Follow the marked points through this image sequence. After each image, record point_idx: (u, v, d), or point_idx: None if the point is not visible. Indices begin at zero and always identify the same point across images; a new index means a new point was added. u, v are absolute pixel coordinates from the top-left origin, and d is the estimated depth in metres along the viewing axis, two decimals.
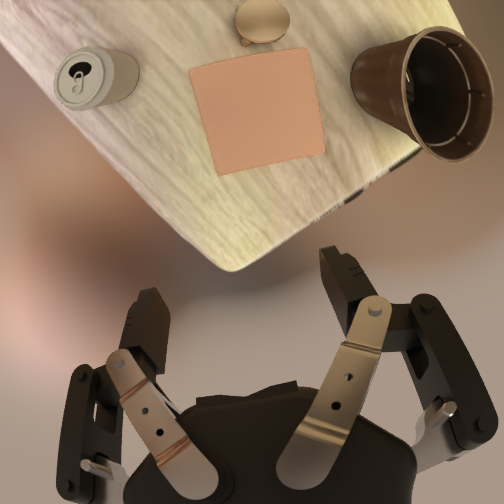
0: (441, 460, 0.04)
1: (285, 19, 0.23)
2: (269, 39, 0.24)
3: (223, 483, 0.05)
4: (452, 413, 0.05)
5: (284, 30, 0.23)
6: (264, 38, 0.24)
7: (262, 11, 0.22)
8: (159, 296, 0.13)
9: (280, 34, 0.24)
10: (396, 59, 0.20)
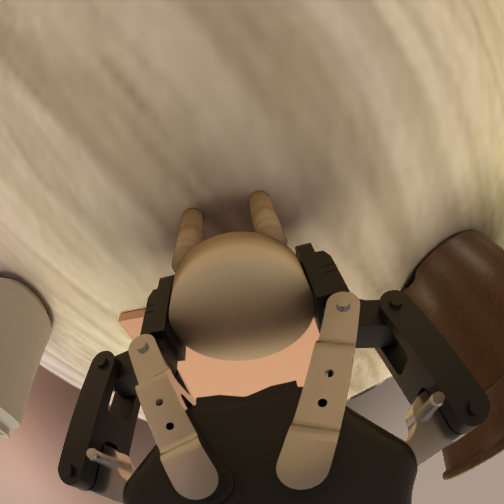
0: (439, 448, 0.05)
1: (303, 314, 0.11)
2: (258, 356, 0.13)
3: (223, 483, 0.05)
4: (441, 403, 0.05)
5: (295, 338, 0.12)
6: (247, 356, 0.13)
7: (240, 305, 0.11)
8: None
9: (285, 345, 0.12)
10: (485, 422, 0.09)
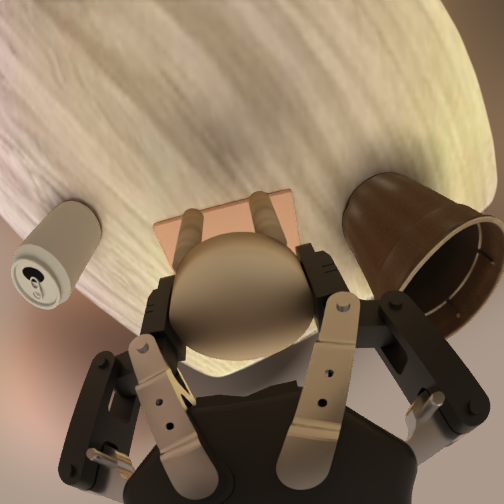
0: (439, 448, 0.05)
1: (303, 314, 0.11)
2: (259, 356, 0.13)
3: (223, 483, 0.05)
4: (441, 402, 0.05)
5: (295, 337, 0.12)
6: (247, 356, 0.13)
7: (240, 305, 0.11)
8: None
9: (285, 345, 0.13)
10: (393, 269, 0.20)
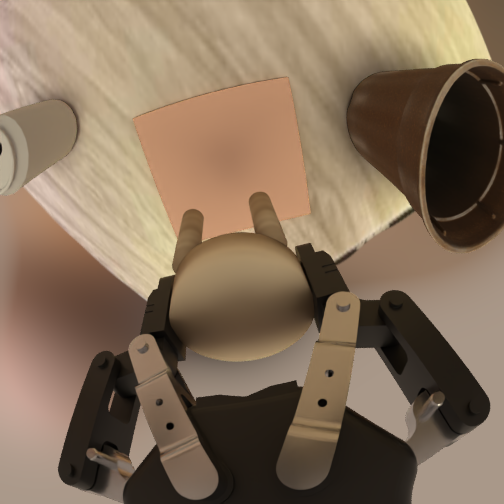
0: (439, 448, 0.05)
1: (303, 315, 0.11)
2: (259, 356, 0.13)
3: (223, 483, 0.05)
4: (441, 402, 0.05)
5: (295, 338, 0.12)
6: (247, 356, 0.13)
7: (240, 305, 0.11)
8: None
9: (285, 346, 0.12)
10: (415, 111, 0.14)
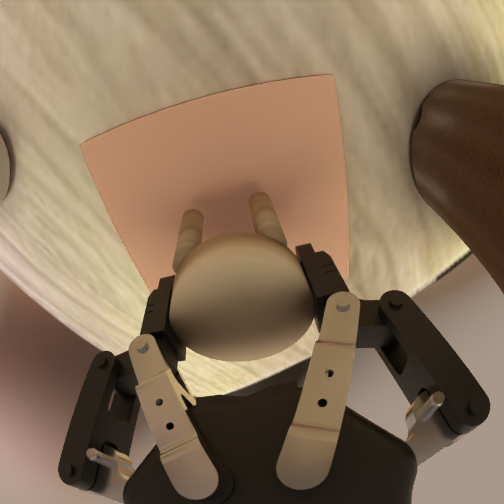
0: (439, 448, 0.05)
1: (303, 315, 0.11)
2: (259, 356, 0.13)
3: (223, 483, 0.05)
4: (441, 402, 0.05)
5: (295, 338, 0.12)
6: (247, 356, 0.13)
7: (240, 306, 0.11)
8: None
9: (285, 346, 0.12)
10: None
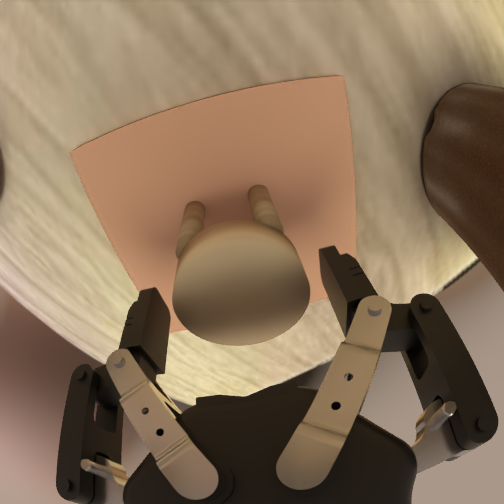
0: (441, 460, 0.04)
1: (299, 298, 0.12)
2: (257, 341, 0.14)
3: (223, 483, 0.05)
4: (452, 413, 0.05)
5: (292, 322, 0.13)
6: (246, 341, 0.13)
7: (239, 288, 0.11)
8: (159, 296, 0.13)
9: (282, 330, 0.13)
10: None
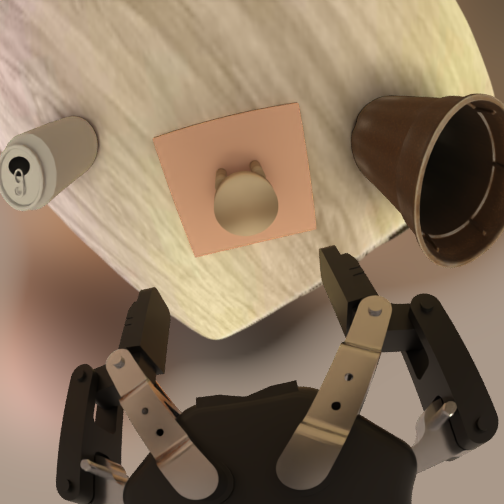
0: (441, 460, 0.04)
1: (273, 206, 0.26)
2: (253, 233, 0.27)
3: (223, 483, 0.05)
4: (452, 413, 0.05)
5: (270, 221, 0.27)
6: (247, 232, 0.27)
7: (245, 198, 0.25)
8: (159, 296, 0.13)
9: (266, 226, 0.27)
10: (413, 144, 0.17)
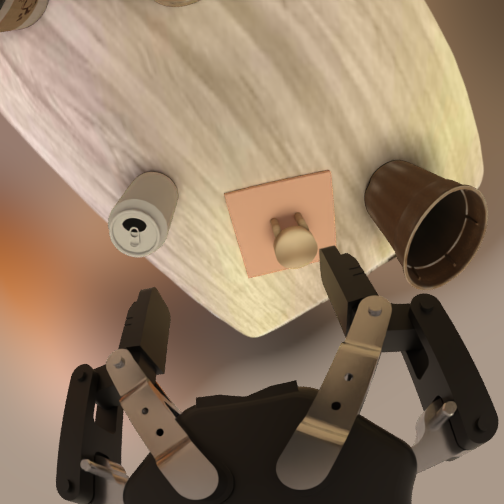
0: (441, 460, 0.04)
1: (314, 250, 0.39)
2: (299, 267, 0.40)
3: (223, 483, 0.05)
4: (452, 413, 0.05)
5: (311, 259, 0.40)
6: (296, 266, 0.40)
7: (297, 246, 0.38)
8: (159, 296, 0.13)
9: (308, 262, 0.40)
10: (407, 220, 0.30)
